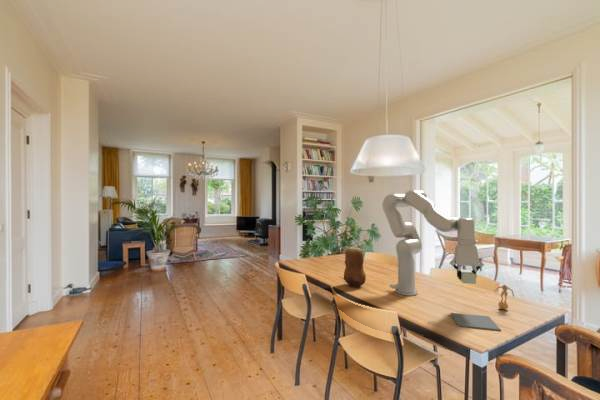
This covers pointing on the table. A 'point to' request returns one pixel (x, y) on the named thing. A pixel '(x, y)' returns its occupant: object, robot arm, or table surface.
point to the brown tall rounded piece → (354, 267)
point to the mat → (475, 321)
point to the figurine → (502, 303)
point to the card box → (468, 277)
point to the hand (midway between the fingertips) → (466, 278)
